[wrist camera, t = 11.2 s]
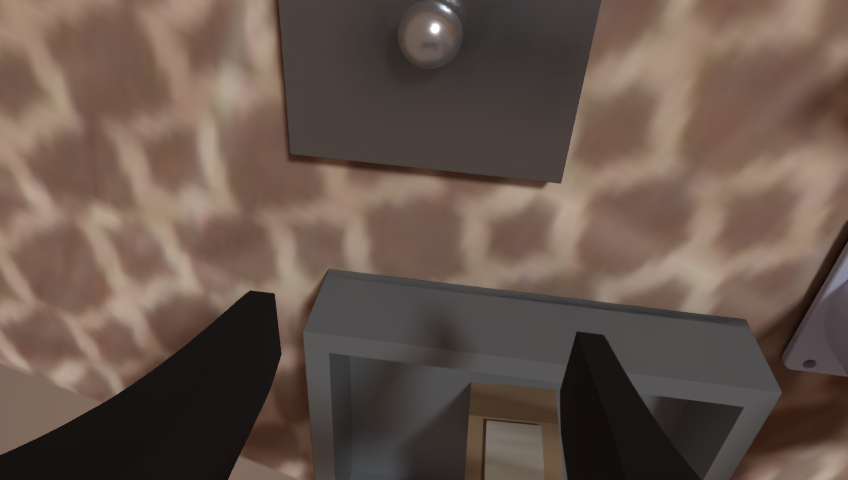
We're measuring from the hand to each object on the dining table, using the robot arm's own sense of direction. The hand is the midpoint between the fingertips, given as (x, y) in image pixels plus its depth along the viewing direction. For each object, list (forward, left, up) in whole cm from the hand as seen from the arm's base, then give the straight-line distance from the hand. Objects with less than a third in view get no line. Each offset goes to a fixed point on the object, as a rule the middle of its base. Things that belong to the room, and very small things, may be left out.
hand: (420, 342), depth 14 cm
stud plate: (+1, -5, -10) cm, 11 cm away
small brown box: (-4, +13, -9) cm, 17 cm away
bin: (-4, +14, -10) cm, 17 cm away
